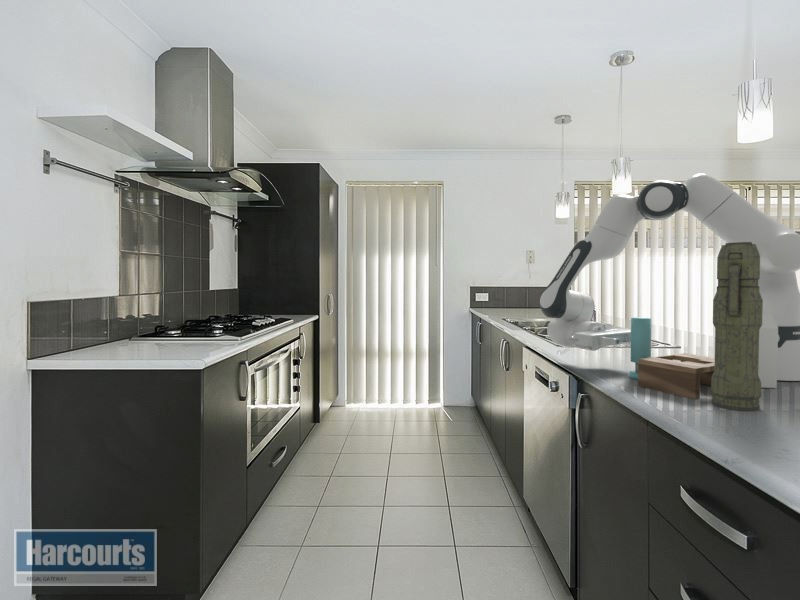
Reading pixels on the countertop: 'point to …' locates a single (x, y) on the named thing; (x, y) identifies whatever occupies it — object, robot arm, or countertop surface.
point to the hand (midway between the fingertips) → (629, 340)
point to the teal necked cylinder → (640, 342)
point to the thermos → (737, 328)
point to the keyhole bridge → (676, 373)
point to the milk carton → (768, 351)
